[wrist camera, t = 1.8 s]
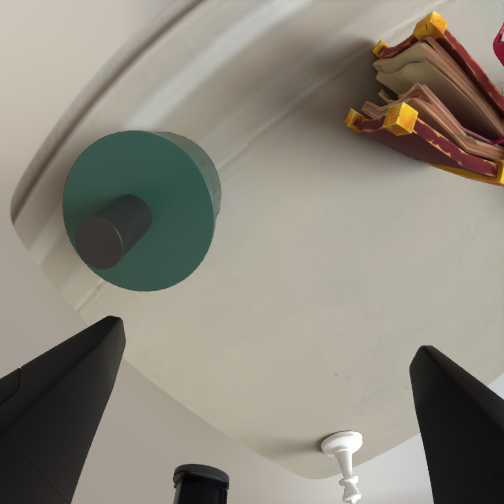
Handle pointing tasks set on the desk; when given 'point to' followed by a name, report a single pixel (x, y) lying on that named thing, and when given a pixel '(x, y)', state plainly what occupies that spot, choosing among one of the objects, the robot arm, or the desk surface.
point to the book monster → (438, 104)
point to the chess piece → (344, 460)
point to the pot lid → (139, 210)
